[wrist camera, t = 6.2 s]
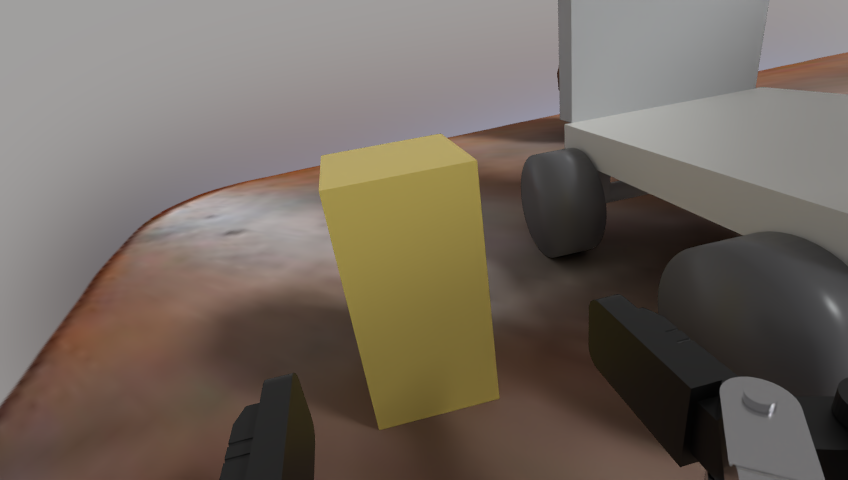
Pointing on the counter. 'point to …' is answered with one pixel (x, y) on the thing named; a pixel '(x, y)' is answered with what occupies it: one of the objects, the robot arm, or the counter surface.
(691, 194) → the trolley
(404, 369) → the yellow rectangular block
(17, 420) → the counter surface
